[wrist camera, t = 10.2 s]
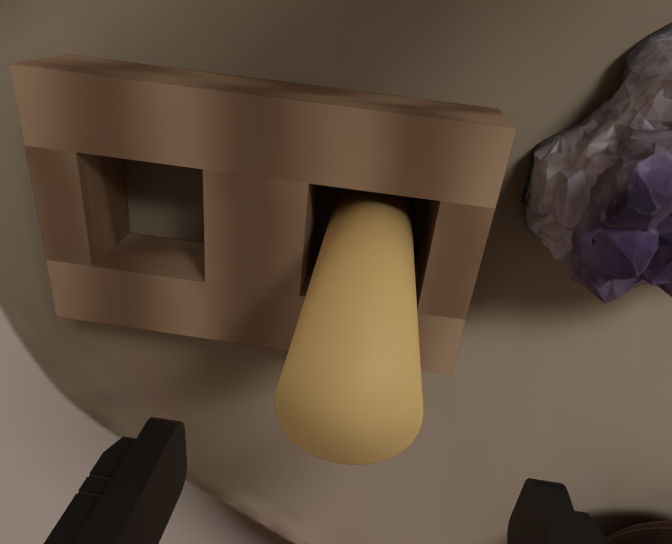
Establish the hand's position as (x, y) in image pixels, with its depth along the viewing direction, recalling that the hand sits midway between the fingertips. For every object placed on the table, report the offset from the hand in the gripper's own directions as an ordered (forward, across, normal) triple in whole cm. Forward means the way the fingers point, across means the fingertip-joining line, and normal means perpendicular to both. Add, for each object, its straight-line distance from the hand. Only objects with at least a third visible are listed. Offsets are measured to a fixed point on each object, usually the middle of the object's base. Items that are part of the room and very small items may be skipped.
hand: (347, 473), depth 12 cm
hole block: (+16, +5, 0) cm, 17 cm away
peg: (+16, 0, 0) cm, 16 cm away
